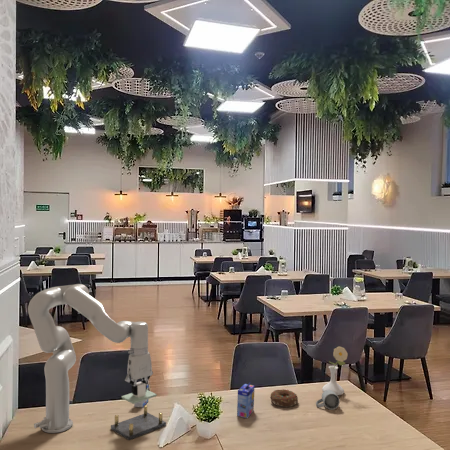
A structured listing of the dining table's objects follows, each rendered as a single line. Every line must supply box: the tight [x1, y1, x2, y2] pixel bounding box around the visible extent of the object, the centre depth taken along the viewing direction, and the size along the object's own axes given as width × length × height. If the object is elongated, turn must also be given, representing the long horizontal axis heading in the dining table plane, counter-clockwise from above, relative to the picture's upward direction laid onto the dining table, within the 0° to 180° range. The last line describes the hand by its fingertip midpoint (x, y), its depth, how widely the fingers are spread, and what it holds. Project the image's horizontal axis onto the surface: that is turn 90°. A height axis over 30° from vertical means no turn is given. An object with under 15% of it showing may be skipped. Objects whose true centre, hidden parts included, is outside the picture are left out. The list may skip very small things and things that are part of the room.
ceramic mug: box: [315, 390, 341, 411], centre depth 214 cm, size 11×8×8 cm
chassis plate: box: [110, 404, 167, 441], centre depth 190 cm, size 19×14×6 cm
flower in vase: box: [321, 346, 349, 396], centre depth 231 cm, size 13×11×25 cm
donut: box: [269, 388, 299, 408], centre depth 218 cm, size 14×14×5 cm
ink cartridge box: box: [236, 381, 256, 419], centre depth 205 cm, size 10×6×14 cm, turn 158°
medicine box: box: [133, 383, 149, 409], centre depth 215 cm, size 8×4×9 cm, turn 168°
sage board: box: [121, 380, 158, 405], centre depth 191 cm, size 12×9×6 cm
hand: (139, 392), depth 191 cm, fingers closed on sage board, 4 cm apart
